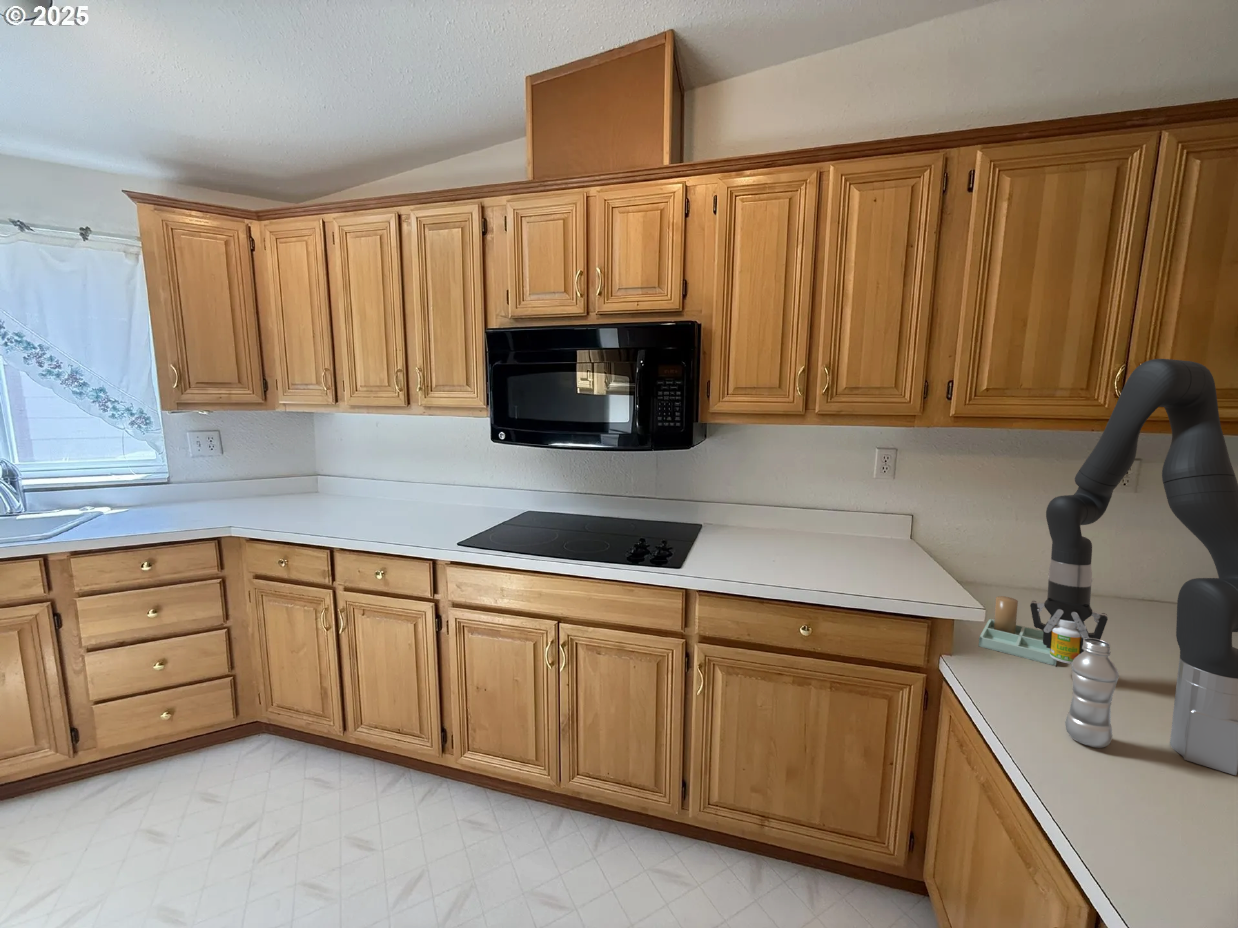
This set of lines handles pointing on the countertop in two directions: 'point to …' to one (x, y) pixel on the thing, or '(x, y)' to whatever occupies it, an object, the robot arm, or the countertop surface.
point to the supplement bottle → (1065, 641)
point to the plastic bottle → (1092, 695)
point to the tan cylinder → (1005, 614)
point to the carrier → (1017, 642)
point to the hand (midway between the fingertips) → (1065, 650)
